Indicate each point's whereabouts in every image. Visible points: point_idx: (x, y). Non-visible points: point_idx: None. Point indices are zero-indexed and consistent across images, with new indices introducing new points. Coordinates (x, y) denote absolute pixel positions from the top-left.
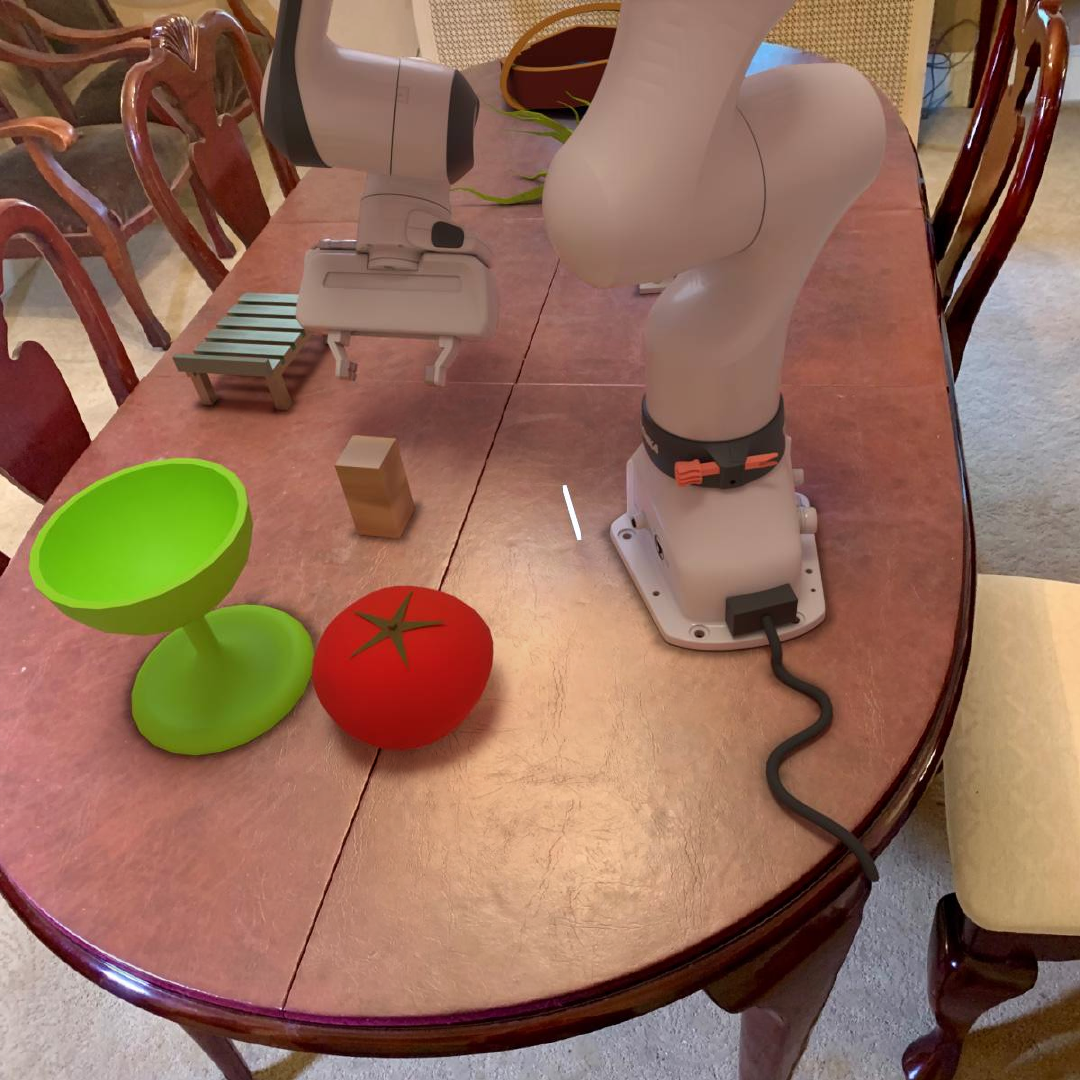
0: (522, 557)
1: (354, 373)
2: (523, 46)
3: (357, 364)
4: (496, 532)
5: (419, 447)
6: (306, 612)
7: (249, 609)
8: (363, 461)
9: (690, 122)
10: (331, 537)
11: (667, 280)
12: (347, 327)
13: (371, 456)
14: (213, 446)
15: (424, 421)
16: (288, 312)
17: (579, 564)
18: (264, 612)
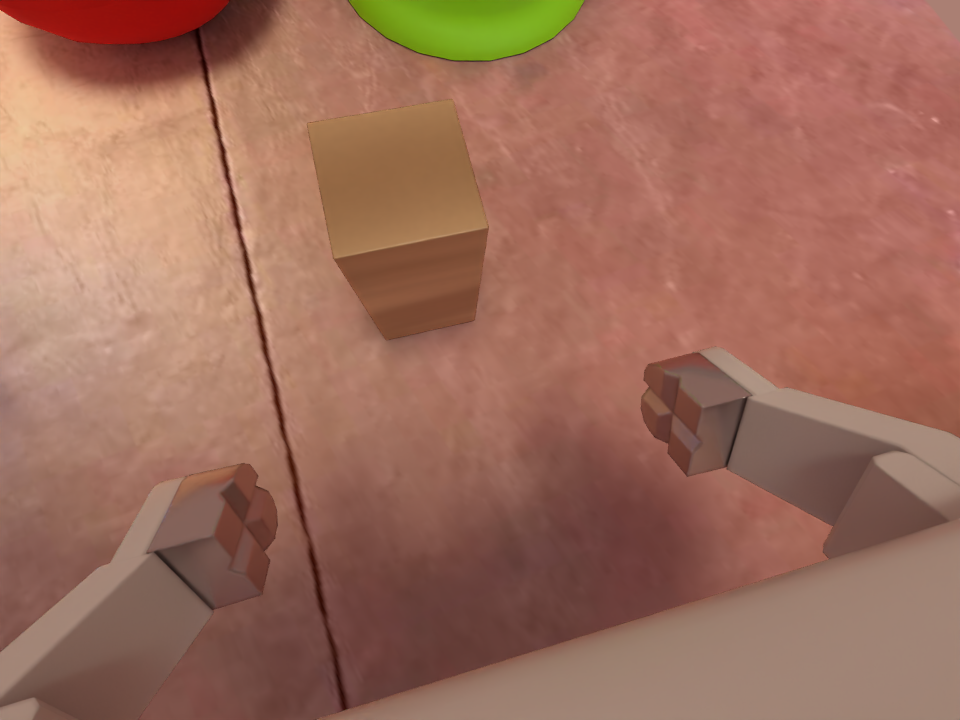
0: (101, 298)
1: (663, 428)
2: None
3: (686, 475)
4: (183, 340)
5: (492, 521)
6: (426, 73)
7: (501, 18)
8: (373, 135)
9: None
10: (498, 218)
11: None
12: (933, 535)
13: (362, 160)
14: (921, 347)
15: (541, 621)
16: None
17: None
18: (472, 20)
